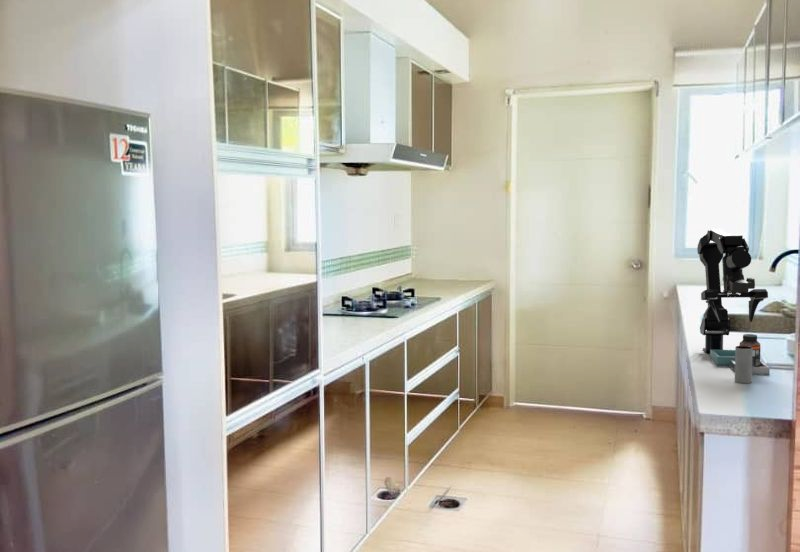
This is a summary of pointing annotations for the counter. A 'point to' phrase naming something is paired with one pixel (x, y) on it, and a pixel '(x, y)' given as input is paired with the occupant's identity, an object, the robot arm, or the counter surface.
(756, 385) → the counter surface
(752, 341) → the supplement bottle
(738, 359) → the grey hollow cylinder
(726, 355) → the bin
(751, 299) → the robot arm
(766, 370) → the collar
